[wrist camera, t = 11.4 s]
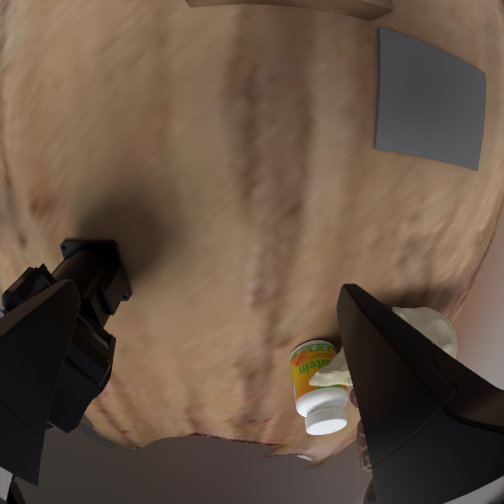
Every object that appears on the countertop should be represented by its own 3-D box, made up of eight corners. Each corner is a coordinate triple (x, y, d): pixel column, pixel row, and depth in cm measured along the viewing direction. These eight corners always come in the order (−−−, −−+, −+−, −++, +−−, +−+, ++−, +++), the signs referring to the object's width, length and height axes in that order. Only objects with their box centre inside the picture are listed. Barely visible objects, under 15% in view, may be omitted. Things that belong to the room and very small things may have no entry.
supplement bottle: (332, 333, 28) (354, 410, 19) (337, 359, 30) (354, 428, 22) (284, 346, 29) (294, 425, 20) (294, 371, 31) (304, 441, 23)
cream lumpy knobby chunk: (440, 301, 29) (477, 290, 16) (441, 355, 27) (478, 377, 14) (332, 314, 36) (304, 312, 22) (333, 366, 34) (305, 395, 21)
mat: (373, 147, 18) (375, 148, 18) (377, 28, 13) (380, 26, 13) (474, 169, 18) (477, 170, 18) (482, 73, 13) (485, 73, 13)
